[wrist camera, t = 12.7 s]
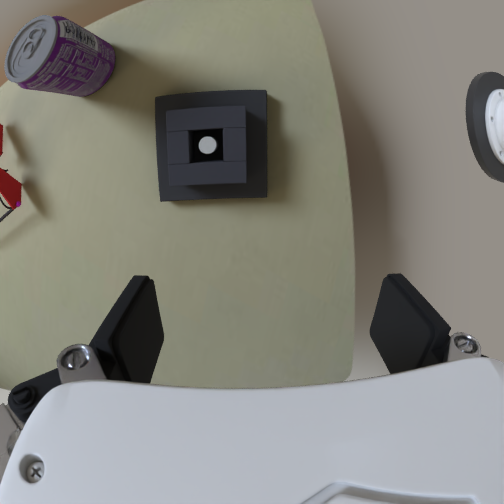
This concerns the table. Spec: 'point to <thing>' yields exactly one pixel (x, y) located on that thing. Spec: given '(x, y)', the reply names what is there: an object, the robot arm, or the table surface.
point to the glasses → (8, 186)
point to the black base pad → (251, 144)
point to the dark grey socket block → (182, 145)
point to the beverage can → (59, 57)
